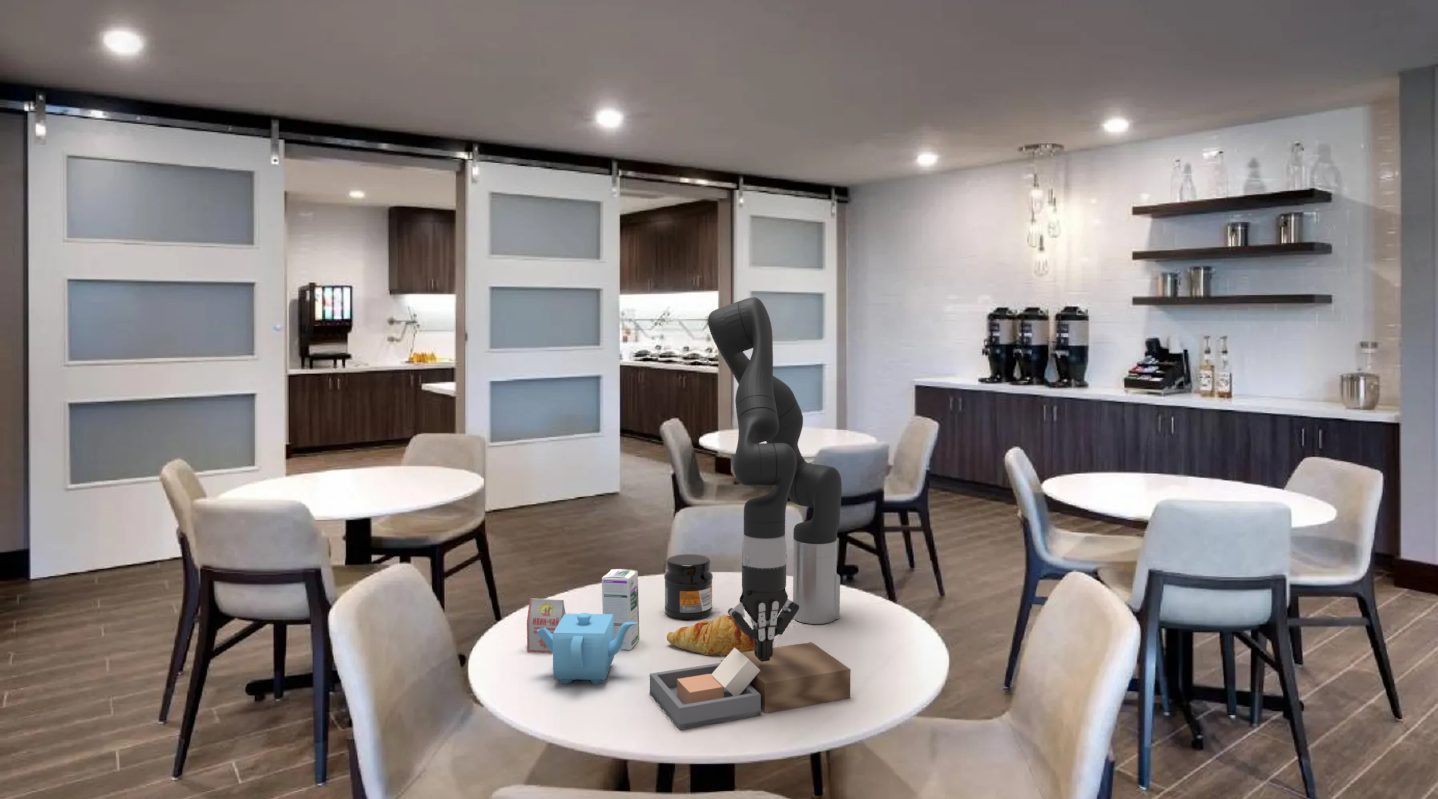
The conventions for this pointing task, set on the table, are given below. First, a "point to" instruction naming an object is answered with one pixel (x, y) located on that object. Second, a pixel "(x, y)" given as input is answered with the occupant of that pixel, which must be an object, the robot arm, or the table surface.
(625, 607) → the syrup box
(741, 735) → the table surface
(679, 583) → the supplement container
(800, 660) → the wood grain slab
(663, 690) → the box
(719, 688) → the terracotta tile
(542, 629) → the teapot
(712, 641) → the croissant
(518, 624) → the table surface
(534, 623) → the tea bag
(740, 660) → the cream tile
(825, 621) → the robot arm
